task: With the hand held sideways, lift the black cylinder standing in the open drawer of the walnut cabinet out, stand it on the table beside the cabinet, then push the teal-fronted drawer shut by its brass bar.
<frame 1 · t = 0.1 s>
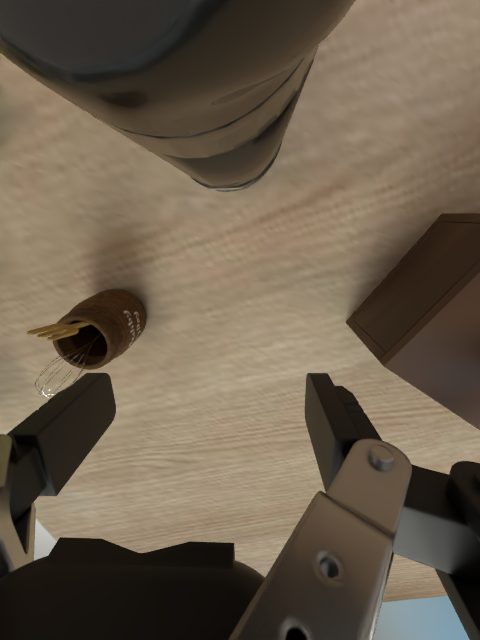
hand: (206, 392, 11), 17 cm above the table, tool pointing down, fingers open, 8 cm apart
utensil holder: (122, 312, 29), on the table
cabinet: (443, 312, 27), on the table
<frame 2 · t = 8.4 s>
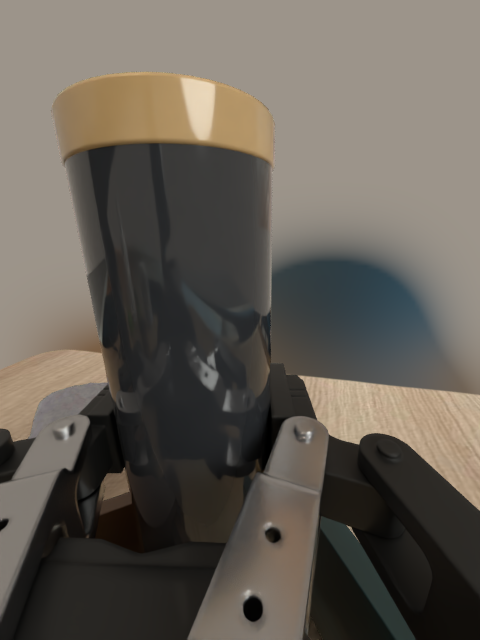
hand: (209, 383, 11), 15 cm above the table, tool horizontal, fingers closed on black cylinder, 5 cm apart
stone block: (93, 438, 29), on the table
drawer: (242, 597, 13), point 4 cm above the table, slide at 10.0 cm, touching black cylinder
when the fingers open (12 cm above the table, at t = 19.0 s): black cylinder stays where it is, on the table.
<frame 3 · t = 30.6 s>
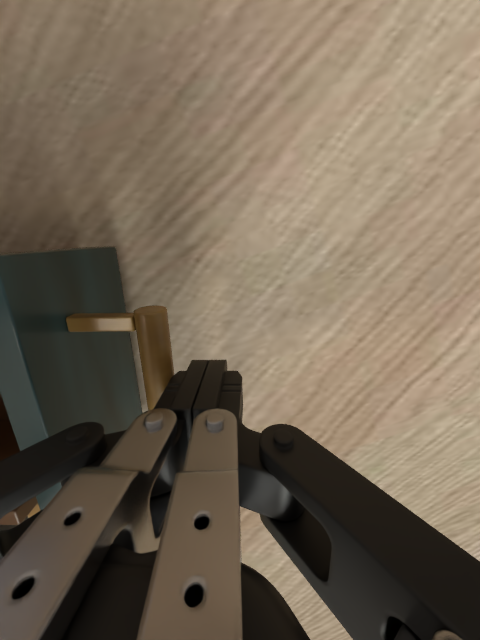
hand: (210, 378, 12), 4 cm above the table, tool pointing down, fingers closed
drawer: (0, 377, 12), point 4 cm above the table, slide at 10.0 cm, touching gripper
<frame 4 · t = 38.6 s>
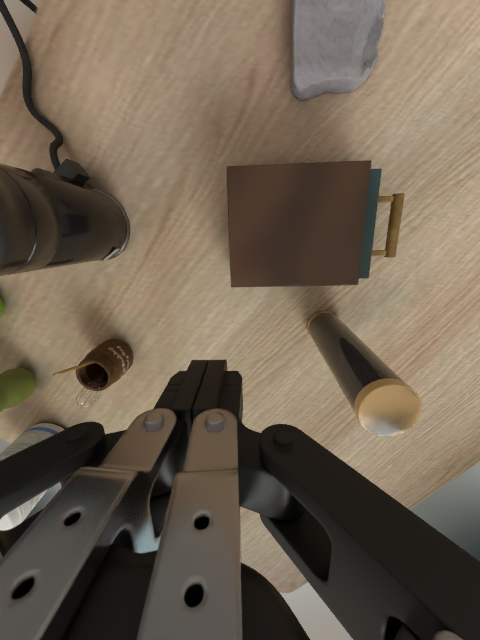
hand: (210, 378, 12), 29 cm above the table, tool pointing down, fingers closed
utensil holder: (117, 353, 44), on the table
black cylinder: (323, 325, 41), on the table
stone block: (331, 38, 31), on the table
supplement tub: (54, 440, 51), on the table
drawer: (322, 228, 33), point 4 cm above the table, slide at 0.3 cm
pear: (29, 376, 46), on the table
cabinet: (286, 230, 37), on the table
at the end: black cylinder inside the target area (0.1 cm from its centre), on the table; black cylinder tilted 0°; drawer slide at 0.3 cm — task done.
